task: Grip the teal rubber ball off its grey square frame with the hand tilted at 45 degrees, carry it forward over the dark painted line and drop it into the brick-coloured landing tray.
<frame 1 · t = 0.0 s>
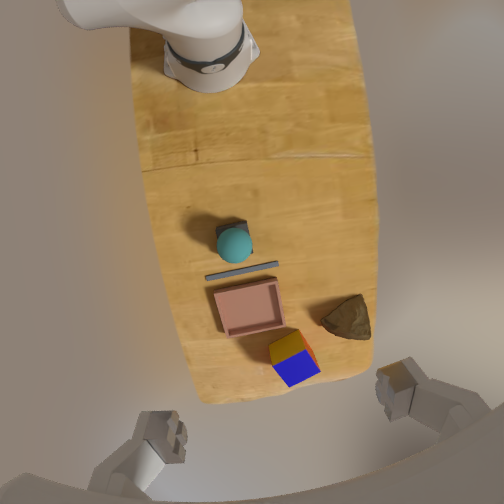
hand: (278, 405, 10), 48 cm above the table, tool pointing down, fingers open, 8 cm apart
landing tray: (250, 306, 62), on the table
throw line: (242, 270, 60), on the table
grey square frame: (234, 238, 57), on the table
ball: (234, 245, 53), point 5 cm above the table, touching grey square frame
rock: (341, 310, 64), on the table
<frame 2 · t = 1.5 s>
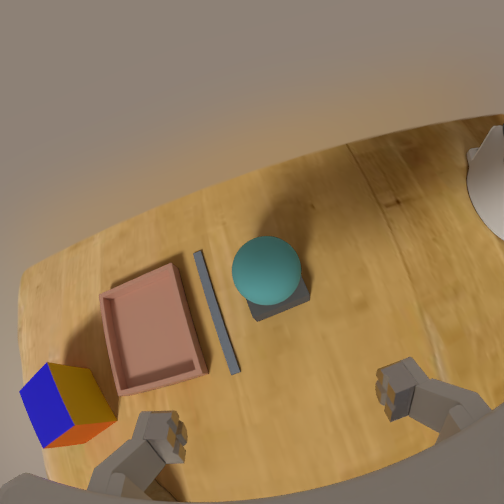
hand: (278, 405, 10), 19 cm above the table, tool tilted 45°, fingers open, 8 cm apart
landing tray: (151, 333, 32), on the table
throw line: (214, 309, 32), on the table
grey square frame: (273, 286, 32), on the table
ball: (266, 270, 27), point 5 cm above the table, touching grey square frame
rock: (157, 493, 24), on the table
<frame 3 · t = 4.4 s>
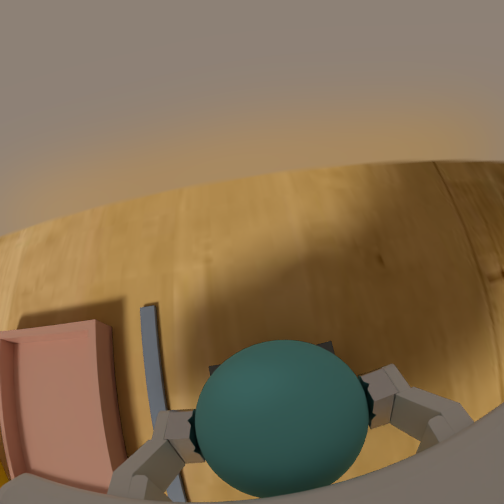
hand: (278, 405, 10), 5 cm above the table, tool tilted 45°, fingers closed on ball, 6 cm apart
landing tray: (59, 421, 14), on the table
throw line: (162, 425, 14), on the table
ball: (282, 421, 9), point 5 cm above the table, touching gripper, grey square frame
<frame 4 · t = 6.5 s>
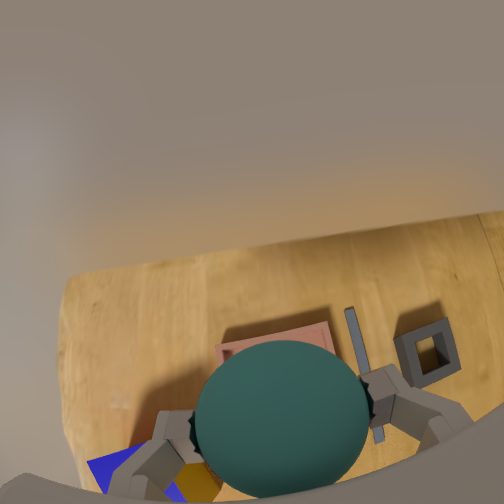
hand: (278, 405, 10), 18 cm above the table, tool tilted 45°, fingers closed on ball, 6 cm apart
landing tray: (284, 398, 26), on the table
throw line: (366, 377, 26), on the table
grey square frame: (423, 356, 26), on the table
ball: (282, 421, 9), point 19 cm above the table, touching gripper
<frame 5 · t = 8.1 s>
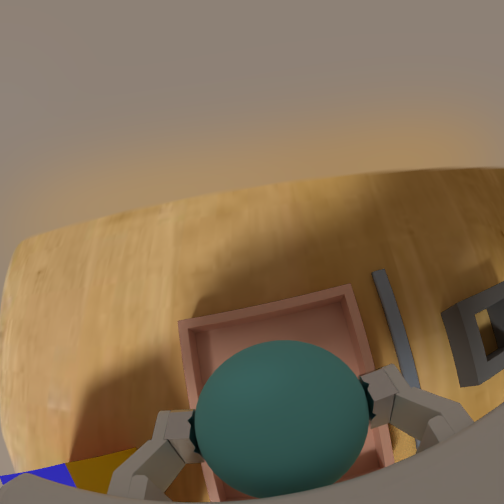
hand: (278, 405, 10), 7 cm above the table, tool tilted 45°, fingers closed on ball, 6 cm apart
landing tray: (286, 406, 16), on the table
throw line: (407, 370, 16), on the table
grey square frame: (478, 336, 16), on the table
ball: (282, 422, 9), point 8 cm above the table, touching gripper
when the fingers open (5 cm above the table, at t = 9.1 s): ball drops 2 cm, resting on landing tray.
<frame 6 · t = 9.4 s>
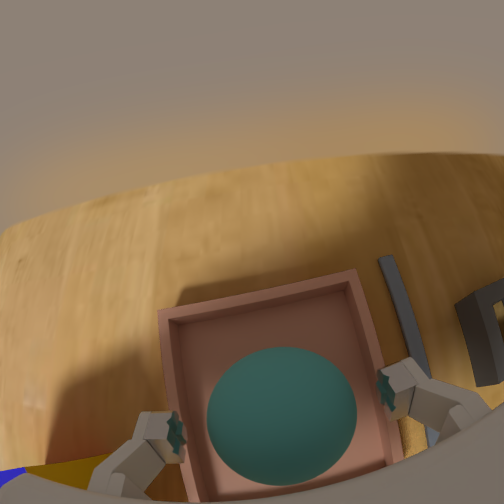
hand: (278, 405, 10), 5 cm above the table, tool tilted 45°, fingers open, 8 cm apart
landing tray: (281, 411, 14), on the table
throw line: (419, 368, 14), on the table
grey square frame: (494, 330, 14), on the table
ball: (282, 417, 11), point 4 cm above the table, touching landing tray
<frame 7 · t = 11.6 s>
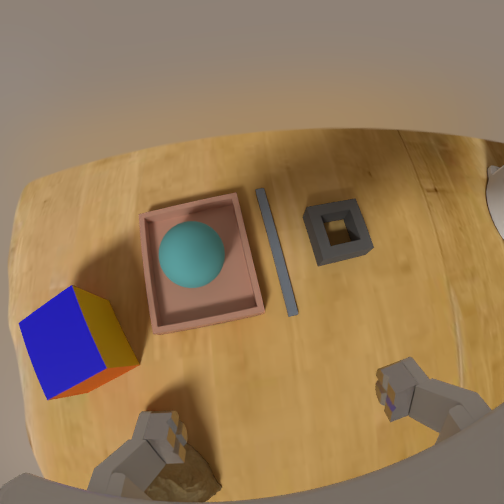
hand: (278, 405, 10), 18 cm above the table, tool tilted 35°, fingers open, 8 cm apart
landing tray: (198, 264, 31), on the table
throw line: (275, 248, 32), on the table
grey square frame: (334, 235, 32), on the table
ball: (191, 254, 28), point 4 cm above the table, touching landing tray
rock: (180, 452, 25), on the table
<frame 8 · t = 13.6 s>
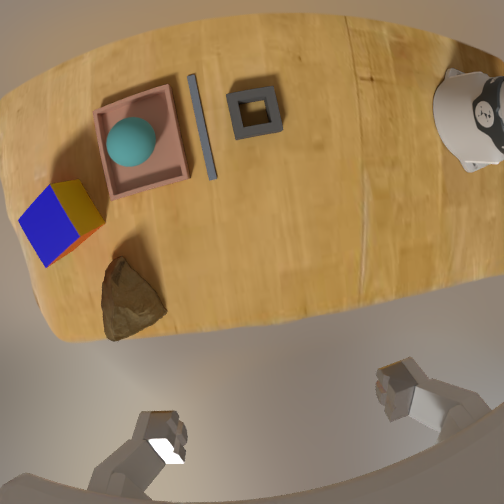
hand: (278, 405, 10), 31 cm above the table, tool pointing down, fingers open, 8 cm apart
landing tray: (141, 142, 35), on the table
throw line: (201, 125, 35), on the table
grey square frame: (253, 114, 35), on the table
ball: (131, 141, 32), point 4 cm above the table, tilted 5°, touching landing tray
rock: (138, 285, 42), on the table
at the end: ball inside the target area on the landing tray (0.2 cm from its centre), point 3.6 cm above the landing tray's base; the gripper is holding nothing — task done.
